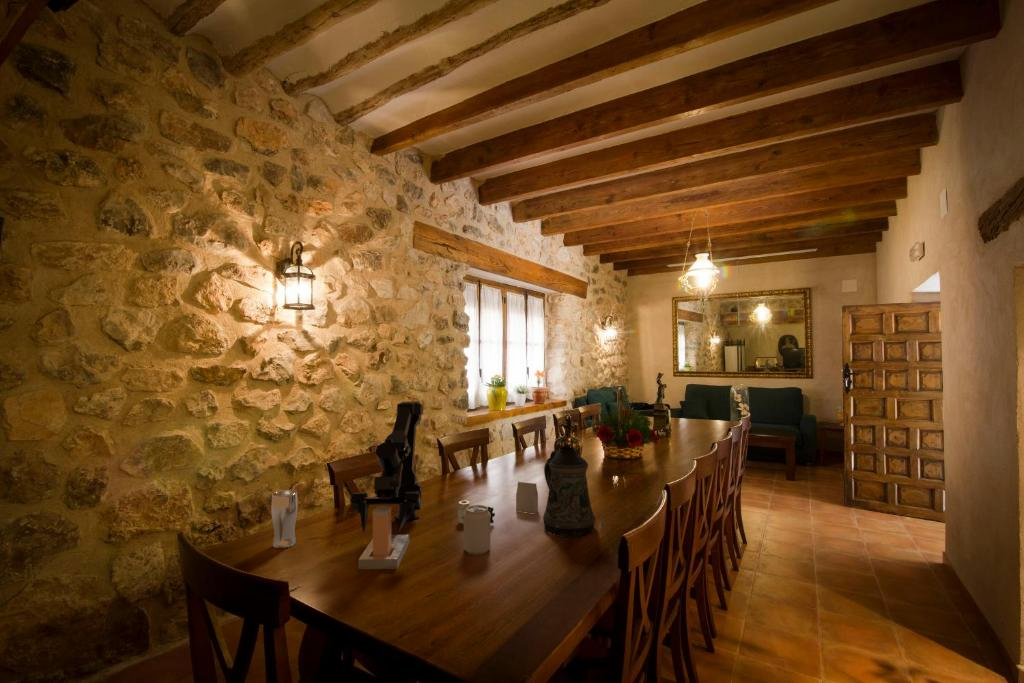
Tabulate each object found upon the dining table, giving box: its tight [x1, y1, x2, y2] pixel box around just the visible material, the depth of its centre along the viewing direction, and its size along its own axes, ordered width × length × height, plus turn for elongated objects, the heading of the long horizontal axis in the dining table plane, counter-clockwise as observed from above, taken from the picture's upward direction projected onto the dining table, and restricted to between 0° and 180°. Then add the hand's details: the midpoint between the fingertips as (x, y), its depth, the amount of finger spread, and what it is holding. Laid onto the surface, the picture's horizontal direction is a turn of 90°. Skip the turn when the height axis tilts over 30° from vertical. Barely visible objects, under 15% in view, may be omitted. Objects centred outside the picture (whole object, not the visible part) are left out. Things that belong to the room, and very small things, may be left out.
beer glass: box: [270, 489, 299, 549], centre depth 141 cm, size 7×7×15 cm
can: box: [463, 504, 491, 556], centre depth 137 cm, size 8×8×12 cm
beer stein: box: [542, 446, 596, 538], centre depth 154 cm, size 16×19×25 cm
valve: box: [457, 500, 496, 525], centre depth 157 cm, size 7×7×12 cm
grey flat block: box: [357, 534, 410, 570], centre depth 133 cm, size 16×10×3 cm, turn 1°
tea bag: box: [515, 481, 539, 515], centre depth 169 cm, size 4×7×10 cm, turn 67°
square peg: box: [372, 505, 393, 557], centre depth 130 cm, size 4×4×14 cm
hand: (380, 531), depth 128 cm, fingers open, 9 cm apart
